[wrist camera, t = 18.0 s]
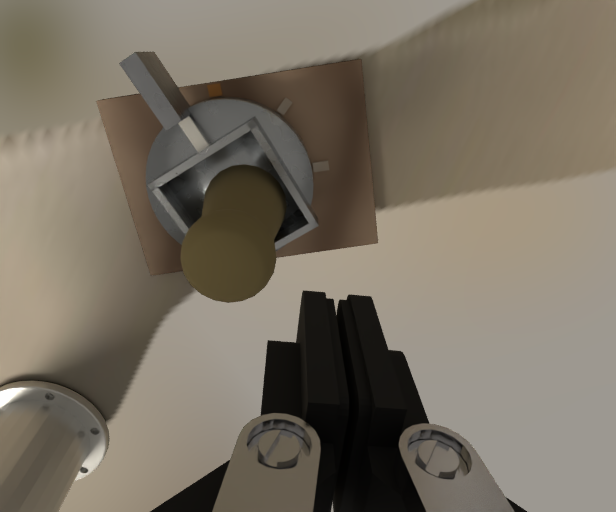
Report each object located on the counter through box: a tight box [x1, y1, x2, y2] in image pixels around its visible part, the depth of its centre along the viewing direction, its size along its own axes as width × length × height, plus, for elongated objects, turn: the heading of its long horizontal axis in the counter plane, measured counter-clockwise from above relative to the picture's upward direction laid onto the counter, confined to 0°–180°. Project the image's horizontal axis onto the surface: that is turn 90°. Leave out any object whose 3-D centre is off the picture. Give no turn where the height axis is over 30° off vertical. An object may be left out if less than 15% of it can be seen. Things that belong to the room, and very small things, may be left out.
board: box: [97, 59, 378, 275], centre depth 36 cm, size 19×14×1 cm
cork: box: [181, 164, 287, 303], centre depth 29 cm, size 6×6×11 cm
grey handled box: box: [119, 52, 319, 251], centre depth 33 cm, size 16×12×5 cm
